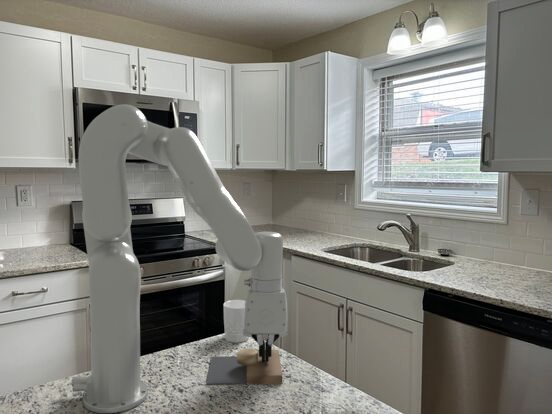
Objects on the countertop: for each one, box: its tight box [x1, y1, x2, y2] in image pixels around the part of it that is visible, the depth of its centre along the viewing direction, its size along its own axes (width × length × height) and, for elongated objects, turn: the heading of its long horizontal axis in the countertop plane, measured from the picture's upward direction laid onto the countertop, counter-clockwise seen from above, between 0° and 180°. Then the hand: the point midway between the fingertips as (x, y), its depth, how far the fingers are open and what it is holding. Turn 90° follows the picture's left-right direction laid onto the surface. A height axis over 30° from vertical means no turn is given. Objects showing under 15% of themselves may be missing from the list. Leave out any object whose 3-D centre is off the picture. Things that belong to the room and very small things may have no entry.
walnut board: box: [246, 349, 283, 385], centre depth 103 cm, size 8×14×2 cm, turn 3°
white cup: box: [223, 299, 250, 344], centre depth 122 cm, size 8×8×10 cm
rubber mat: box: [205, 355, 248, 386], centre depth 103 cm, size 9×14×1 cm, turn 3°
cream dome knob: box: [236, 348, 258, 366], centre depth 103 cm, size 5×5×2 cm
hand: (265, 359), depth 103 cm, fingers closed
